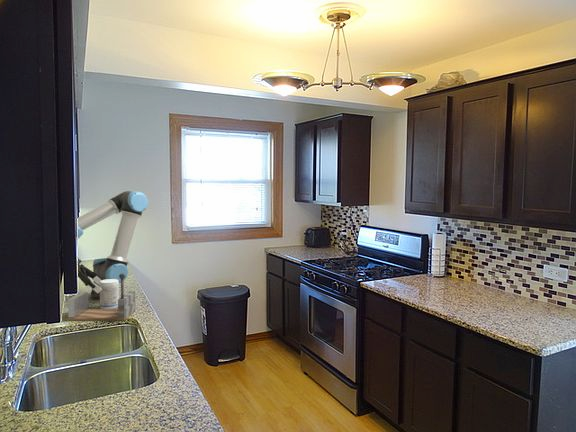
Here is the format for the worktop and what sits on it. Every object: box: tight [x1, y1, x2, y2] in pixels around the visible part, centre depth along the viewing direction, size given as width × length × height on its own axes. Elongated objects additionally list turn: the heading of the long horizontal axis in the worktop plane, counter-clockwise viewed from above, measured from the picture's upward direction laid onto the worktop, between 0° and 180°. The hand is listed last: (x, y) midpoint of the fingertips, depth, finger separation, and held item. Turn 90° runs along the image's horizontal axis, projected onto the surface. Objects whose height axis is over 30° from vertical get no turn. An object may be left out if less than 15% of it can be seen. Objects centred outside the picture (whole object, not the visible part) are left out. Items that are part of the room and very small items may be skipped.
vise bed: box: [65, 273, 136, 322], centre depth 207 cm, size 16×28×23 cm, turn 92°
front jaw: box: [67, 291, 89, 318], centre depth 207 cm, size 15×3×9 cm, turn 2°
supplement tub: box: [99, 279, 120, 309], centre depth 222 cm, size 10×10×15 cm
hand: (101, 288), depth 220 cm, fingers open, 13 cm apart
